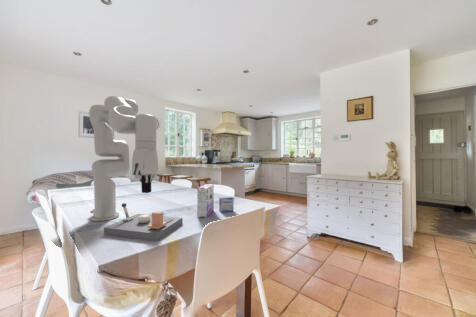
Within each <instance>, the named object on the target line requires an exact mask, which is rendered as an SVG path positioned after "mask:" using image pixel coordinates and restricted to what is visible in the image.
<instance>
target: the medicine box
mask: <svg viewBox="0 0 476 317" xmlns="http://www.w3.org/2000/svg"><path fill="white" fill-rule="evenodd" d="M218 199H219V200H218V202H219V203H218V206H219V207H218V208H219V210H218V211H219V212H221V214H224V213H225V214H226V213H231V212H234V206H235V205H234V200H235V199H234V197H233V196H232V195H231V196H230V195H229V196H220V197H218Z"/></svg>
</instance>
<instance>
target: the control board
mask: <svg viewBox="0 0 476 317" xmlns="http://www.w3.org/2000/svg"><path fill="white" fill-rule="evenodd" d="M140 215H147V214H145V213H136V214H133V215H131V216H129V218H123V219H122V220H119V221H117V222H114V223H112V224H110V225H107V226H104V227H103V235H104V236H105V235H106V236H114V237H121V238H127V239H128V238H130V239H136V240H143V241H144V240H146V241H152V242H153V241H154V242H158V241H160V240H161V239H162V238H164V237H165V236H167V235H168V234H169V233H171V232H172V231H174V230H176V229H177V228H179V227H180V226H181V225H183V217H177V216H166V215H163V222H167V224H166V225H164V226H163V227H161V228H159V229H153V228H148V226H149V225H151V224H152V214H149V215H150V221H149V222H147V223H138V216H140Z"/></svg>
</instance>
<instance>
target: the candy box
mask: <svg viewBox="0 0 476 317" xmlns="http://www.w3.org/2000/svg"><path fill="white" fill-rule="evenodd" d="M214 189H215V188H214V183H213V184H211V183H209V184H207V183H205V184H203V185H201V186H199V187H197V218H202V219H203V218H209V216H210V215H211V214H212V213H213V212H214V210H215V209H214V208H215V206H214V204H215V202H214V200H215V199H214V198H215V197H214V194H215V193H214Z"/></svg>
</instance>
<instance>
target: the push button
mask: <svg viewBox="0 0 476 317" xmlns="http://www.w3.org/2000/svg"><path fill="white" fill-rule="evenodd" d="M150 215H151V214H146V215H140V216H138V223H147V222H149V221H150Z"/></svg>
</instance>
